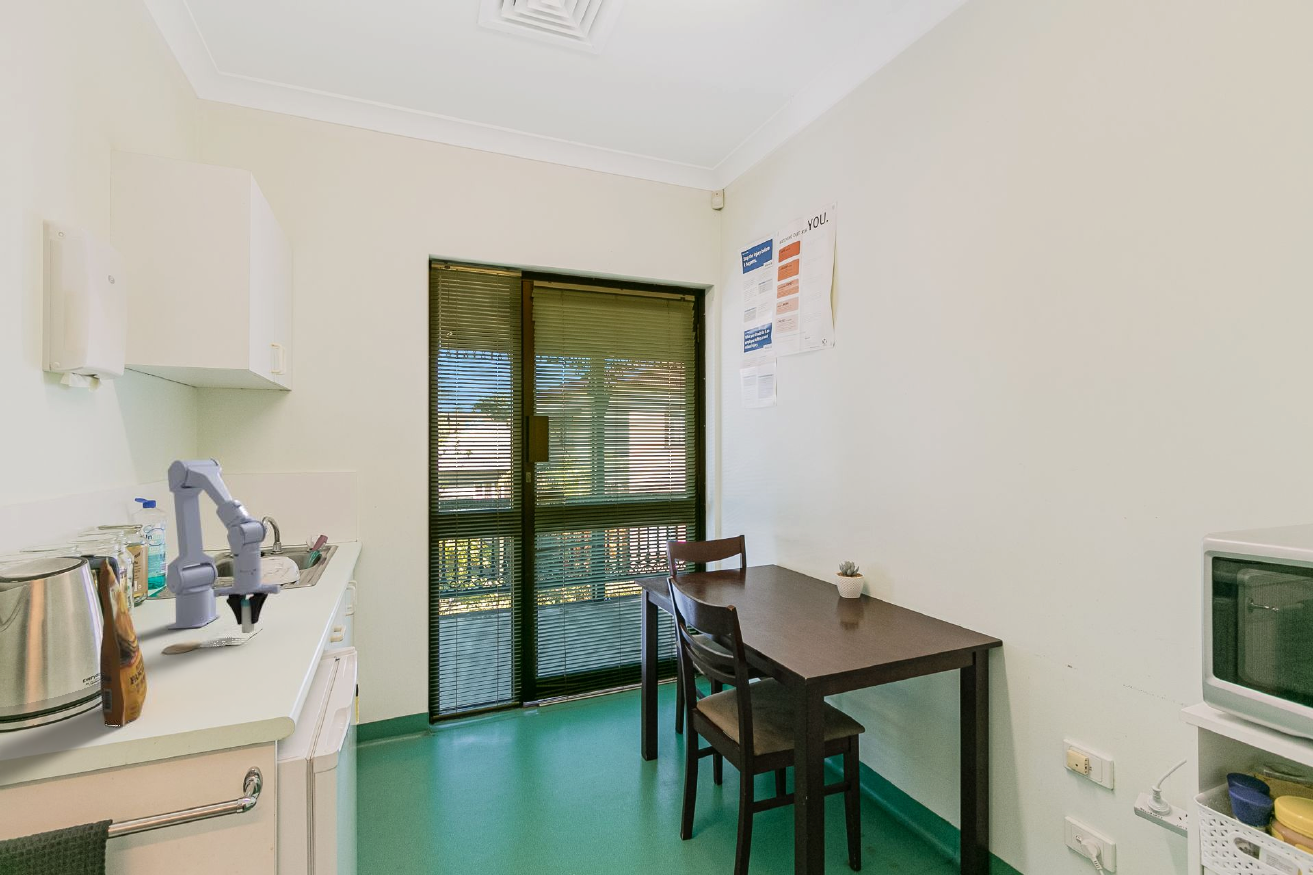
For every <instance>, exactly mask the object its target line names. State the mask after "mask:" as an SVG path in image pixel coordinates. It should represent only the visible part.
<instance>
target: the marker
mask: <svg viewBox="0 0 1313 875" xmlns="http://www.w3.org/2000/svg"><path fill="white" fill-rule="evenodd" d="M241 613H242V624H241V630H242V633H250V632H253V631H254V629H255V624H252V623H251V607H250V602H249V598H246V599H244V600H241Z"/></svg>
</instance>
